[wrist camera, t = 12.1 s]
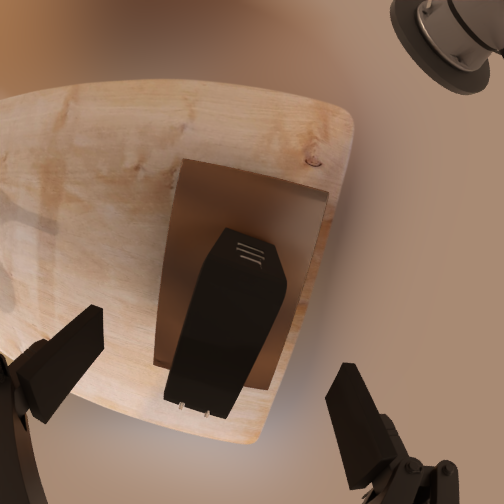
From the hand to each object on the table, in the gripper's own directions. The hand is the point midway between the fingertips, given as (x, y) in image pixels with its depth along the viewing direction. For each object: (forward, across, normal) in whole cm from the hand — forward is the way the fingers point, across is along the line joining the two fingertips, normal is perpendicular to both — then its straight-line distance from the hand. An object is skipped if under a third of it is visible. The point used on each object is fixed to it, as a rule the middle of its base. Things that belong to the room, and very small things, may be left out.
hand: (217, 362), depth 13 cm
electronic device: (+10, 0, 0) cm, 10 cm away
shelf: (+22, 0, 0) cm, 22 cm away
